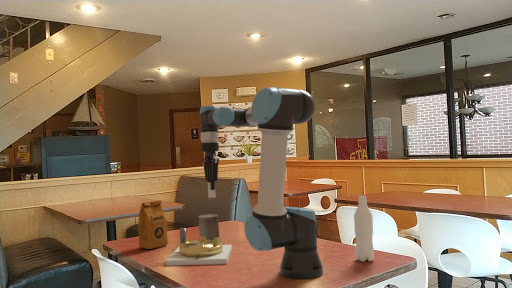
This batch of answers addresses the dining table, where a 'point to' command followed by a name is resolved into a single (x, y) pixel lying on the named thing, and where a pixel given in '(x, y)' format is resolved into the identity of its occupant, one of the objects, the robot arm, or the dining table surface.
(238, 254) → the dining table surface
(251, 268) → the dining table surface
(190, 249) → the gold round notched piece
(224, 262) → the mount plate
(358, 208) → the water bottle
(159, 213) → the coffee package
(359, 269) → the dining table surface
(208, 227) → the pillar candle
